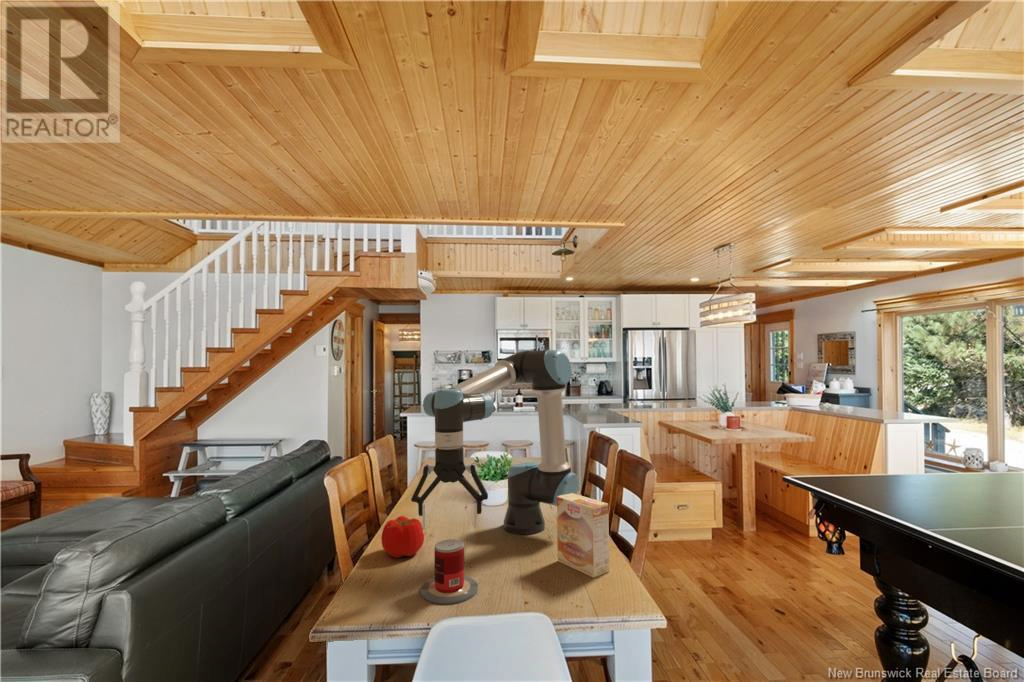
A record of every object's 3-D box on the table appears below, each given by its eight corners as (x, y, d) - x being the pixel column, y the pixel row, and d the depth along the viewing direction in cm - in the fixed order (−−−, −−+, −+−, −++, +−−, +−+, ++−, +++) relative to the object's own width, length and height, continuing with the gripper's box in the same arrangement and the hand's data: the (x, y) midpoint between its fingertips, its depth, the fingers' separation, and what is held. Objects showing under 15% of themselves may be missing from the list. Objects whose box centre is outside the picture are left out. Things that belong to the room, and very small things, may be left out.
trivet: (478, 577, 135) (478, 573, 135) (476, 603, 120) (476, 599, 120) (424, 578, 135) (424, 575, 135) (416, 605, 120) (416, 601, 120)
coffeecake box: (556, 561, 146) (555, 496, 147) (573, 555, 150) (572, 492, 151) (593, 578, 134) (592, 507, 135) (610, 571, 138) (609, 502, 139)
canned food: (468, 582, 130) (468, 540, 130) (455, 595, 122) (455, 551, 123) (443, 578, 132) (443, 537, 133) (429, 591, 125) (429, 548, 125)
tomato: (424, 560, 147) (424, 525, 148) (380, 564, 145) (380, 528, 145) (423, 544, 161) (423, 512, 161) (382, 547, 158) (382, 514, 158)
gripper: (399, 450, 125) (400, 533, 124) (495, 448, 126) (497, 530, 125) (405, 445, 132) (405, 523, 132) (495, 443, 133) (497, 520, 133)
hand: (450, 527), depth 128 cm, fingers open, 13 cm apart
